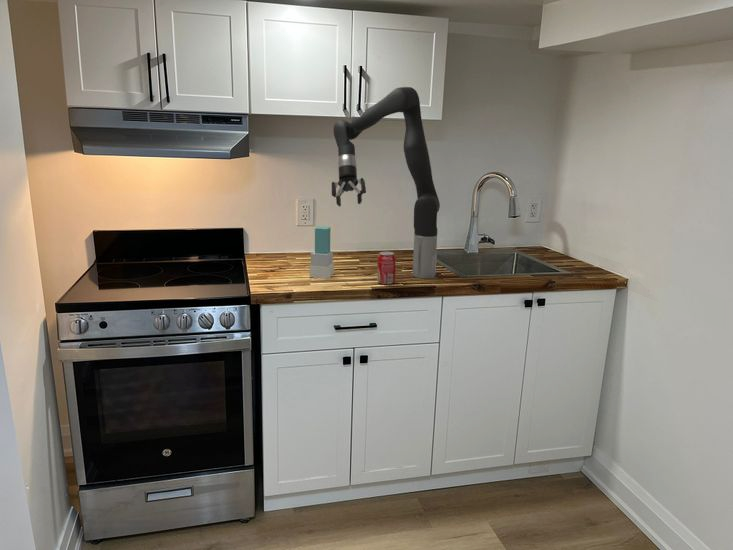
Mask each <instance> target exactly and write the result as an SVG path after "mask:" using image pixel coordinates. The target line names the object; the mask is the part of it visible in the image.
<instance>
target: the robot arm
mask: <svg viewBox="0 0 733 550" xmlns="http://www.w3.org/2000/svg"><path fill="white" fill-rule="evenodd" d="M364 110H365V112H364V113H363V115H362V116H361V117H354V116H353V117H352V118H351V122H350V121H347V120H344V119H338V120H337V121H335V122H334V125H333V130H332V131H333V136H334V139H335V142H336V143H335V144H336V146H337V148H338V149H337V151H338V161H337V164H338V182H335V181H332V182H331V196H332V197H334V198H336V199H335V200H336V201H335V203H336V205H337V206H338V207H339V208H340V207H341V206H342V201H341V199H342V198H341V197H342V195H343V194H344V193H346V192H353V191H355V192H356V193H357V195H356V197H357V204H358V205H361V203H362V202H363V199H362V198H363V197H362V196H363V195H364V194H366V193H367V190H366V180H365V179H364V178H363V177H361V178H360V179H358V176H357V175H358V174H357V173H358V172H357V169H358V168H357V160H356V149H355V144H353V142H351V141H352V140H355V139H356V138H358V136H360V134H362V132H364V131H366V130H367V129H370V128H371V127H373V126H375V125H376V124H377V123H379V122H380V121H381V120H382V119H384V118H386V117H387V116H390V115H393V114H397V113H402V114H403V117H404V123H405V133H404V138H403V140H404V141H403V153H404V157H405V162H406V165H407V168H408V171H409V173H410V175H411V178H412V180H413V181H414V185H415V189H416V196H417V199H416V201H415V203H414V206H413V231H414V232H413V233H414V234H413V235H414V237H413V257H412V258H413V259H412V276H413V277H415V278H418V279H435V278H436V275H437V260H438V259H437V257H438V254H437V247H438V246H437V245H438V227H437V225H438V224H437V223H438V221H437V220H438V212H439V210H440V208H441V204H440V199H439V197H438V194H437V190H436V187H435V183H434V179H433V174H432V173H433V172H432V166H431V160H430V153H429V149H428V146H427V145H428V144H427V141H426V136H425V130H424V125H423V120H422V112H421V102H420V97H419V94H418V92H417V90H416V89H415V88H413V87H410V86H403V87H401V86H400V87H396V88H394V89H393V90H392V91H391V92H389V93H388V94H387V95H386V96H385V97H382V98H381V100H379V101H377V102H376V103H375V104H373V105H372V106H369V107H368V108H366V109H364ZM358 184H360V186H361V190H360V189H359V188H358V187H357V186H358ZM338 186H339V187H338ZM337 188H338V189H337Z"/></svg>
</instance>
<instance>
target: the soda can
mask: <svg viewBox="0 0 733 550" xmlns="http://www.w3.org/2000/svg"><path fill="white" fill-rule="evenodd" d="M376 264H377V265H376V266H377V268H376V270H377V271H376V272H377V273H376V274H377V275H376V279H377V280H376V281H377V283H379V284H380V283H381V284H380V285H384V284H390V285H393V283H395V282H396V281H395V280H396V268H397V267H396V265H397V264H396V256H395V253H394V252H393V251H379V254H378V256H377V263H376Z"/></svg>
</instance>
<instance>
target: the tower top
mask: <svg viewBox="0 0 733 550" xmlns="http://www.w3.org/2000/svg"><path fill="white" fill-rule="evenodd" d="M333 255H334V250H333V251H332V250H330V252H329V253H328V254H319V253H315V250H314V251H313V252H311V253H310V265H311V266H318V267H329V266H330V265H331V264H333V263H334V256H333Z"/></svg>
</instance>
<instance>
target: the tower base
mask: <svg viewBox="0 0 733 550" xmlns="http://www.w3.org/2000/svg"><path fill="white" fill-rule="evenodd" d="M308 268H309V270H308V271H309V278H310V277H313V278H312V279H318V278H325V279H324V280H330V279H331V278H332V277H333V276H334V275H333V274H335V263H334V262H333V264H331V265H330V266H329V267H318V266H311V264H310V265H309V266H308ZM332 275H333V276H332ZM331 276H332V277H331ZM330 277H331V278H330ZM329 278H330V279H329Z"/></svg>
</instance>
